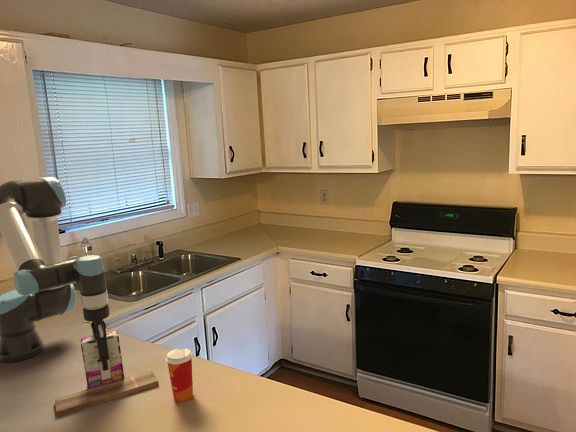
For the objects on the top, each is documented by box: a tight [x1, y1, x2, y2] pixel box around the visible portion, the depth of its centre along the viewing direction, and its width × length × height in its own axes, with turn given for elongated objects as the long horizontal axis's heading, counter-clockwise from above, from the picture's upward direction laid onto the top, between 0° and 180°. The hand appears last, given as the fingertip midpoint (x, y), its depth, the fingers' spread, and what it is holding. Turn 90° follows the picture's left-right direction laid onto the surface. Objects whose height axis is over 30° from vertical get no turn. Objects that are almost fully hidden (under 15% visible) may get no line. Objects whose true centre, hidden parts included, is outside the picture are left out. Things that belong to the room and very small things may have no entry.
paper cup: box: [165, 347, 194, 403], centre depth 139 cm, size 8×8×14 cm
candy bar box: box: [80, 329, 125, 389], centre depth 149 cm, size 11×5×16 cm, turn 115°
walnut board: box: [54, 370, 160, 418], centre depth 144 cm, size 8×29×2 cm, turn 120°
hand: (105, 374), depth 150 cm, fingers closed on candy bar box, 5 cm apart
